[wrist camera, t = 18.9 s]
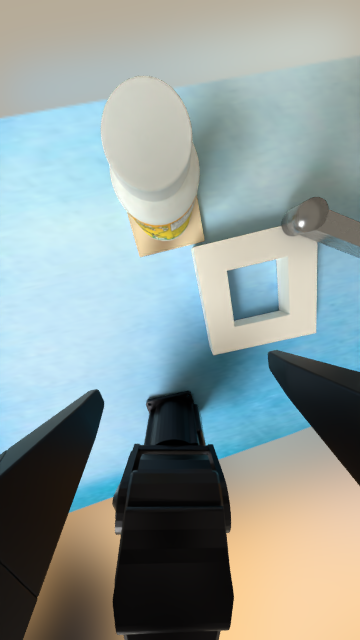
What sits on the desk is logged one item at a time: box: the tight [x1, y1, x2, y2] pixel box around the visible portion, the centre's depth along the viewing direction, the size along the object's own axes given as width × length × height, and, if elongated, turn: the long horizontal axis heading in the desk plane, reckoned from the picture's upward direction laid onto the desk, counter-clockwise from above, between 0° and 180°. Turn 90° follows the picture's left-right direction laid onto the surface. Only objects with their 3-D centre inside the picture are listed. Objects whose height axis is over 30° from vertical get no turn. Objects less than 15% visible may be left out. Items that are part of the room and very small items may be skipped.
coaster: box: [127, 195, 205, 257], centre depth 17 cm, size 7×7×1 cm
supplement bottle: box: [101, 76, 200, 241], centre depth 12 cm, size 5×5×10 cm
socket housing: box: [191, 226, 317, 355], centre depth 18 cm, size 12×12×2 cm
